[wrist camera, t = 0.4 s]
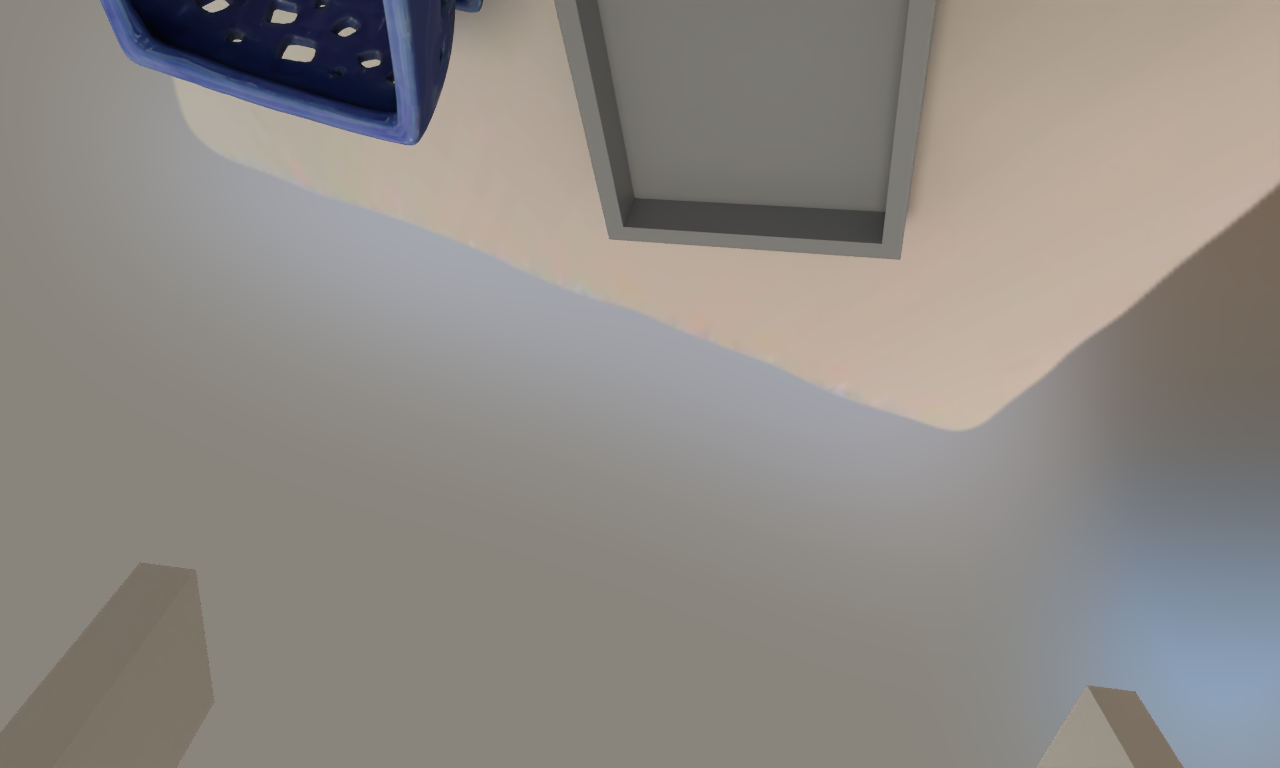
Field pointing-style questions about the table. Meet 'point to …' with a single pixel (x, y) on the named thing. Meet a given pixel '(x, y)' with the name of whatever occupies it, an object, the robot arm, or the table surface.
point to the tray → (752, 119)
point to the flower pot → (317, 90)
